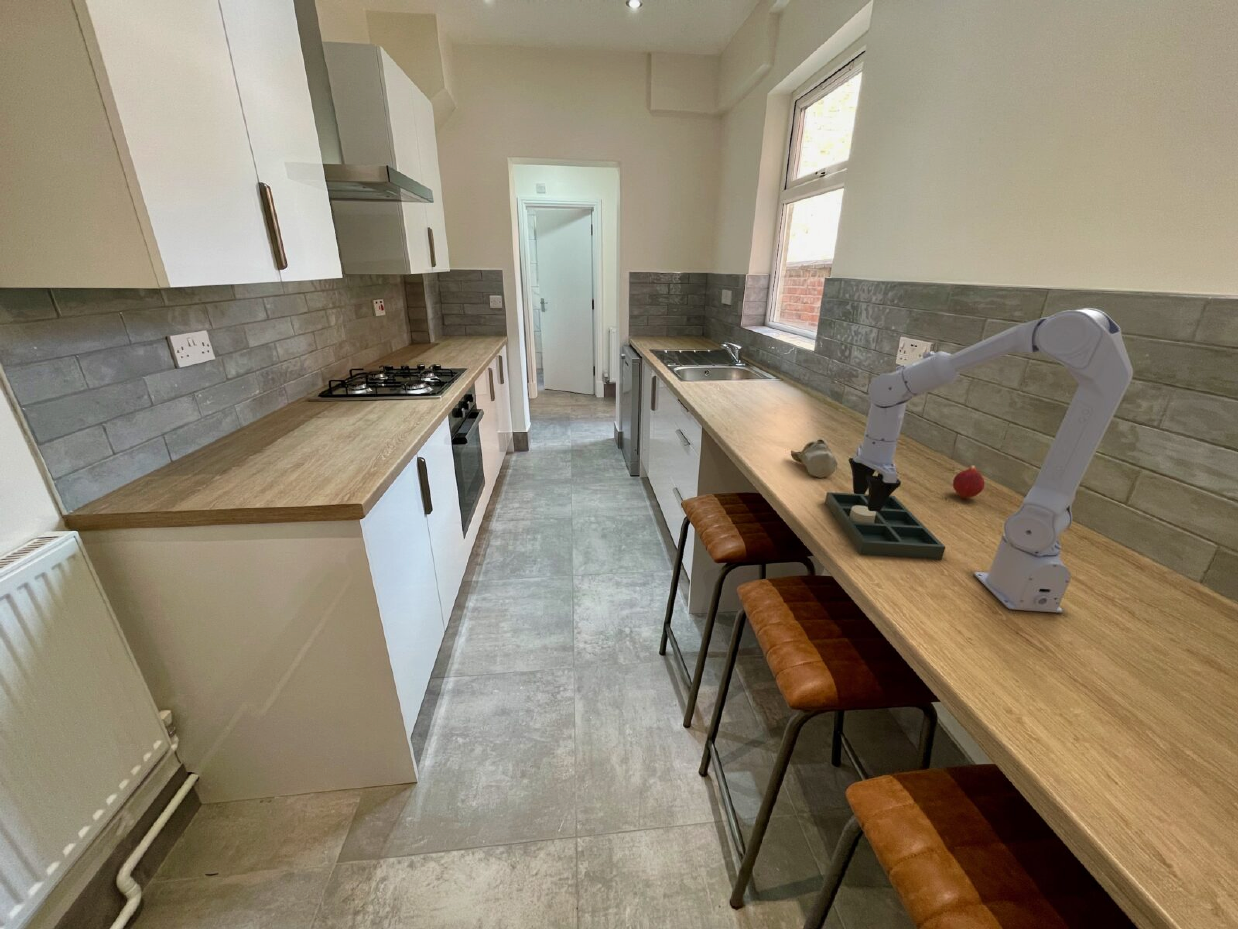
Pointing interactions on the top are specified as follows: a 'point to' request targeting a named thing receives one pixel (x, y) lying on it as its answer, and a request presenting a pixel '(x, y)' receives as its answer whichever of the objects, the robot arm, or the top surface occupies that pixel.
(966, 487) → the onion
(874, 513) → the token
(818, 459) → the ceramic sculpture
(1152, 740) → the top surface
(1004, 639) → the top surface
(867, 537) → the grid
